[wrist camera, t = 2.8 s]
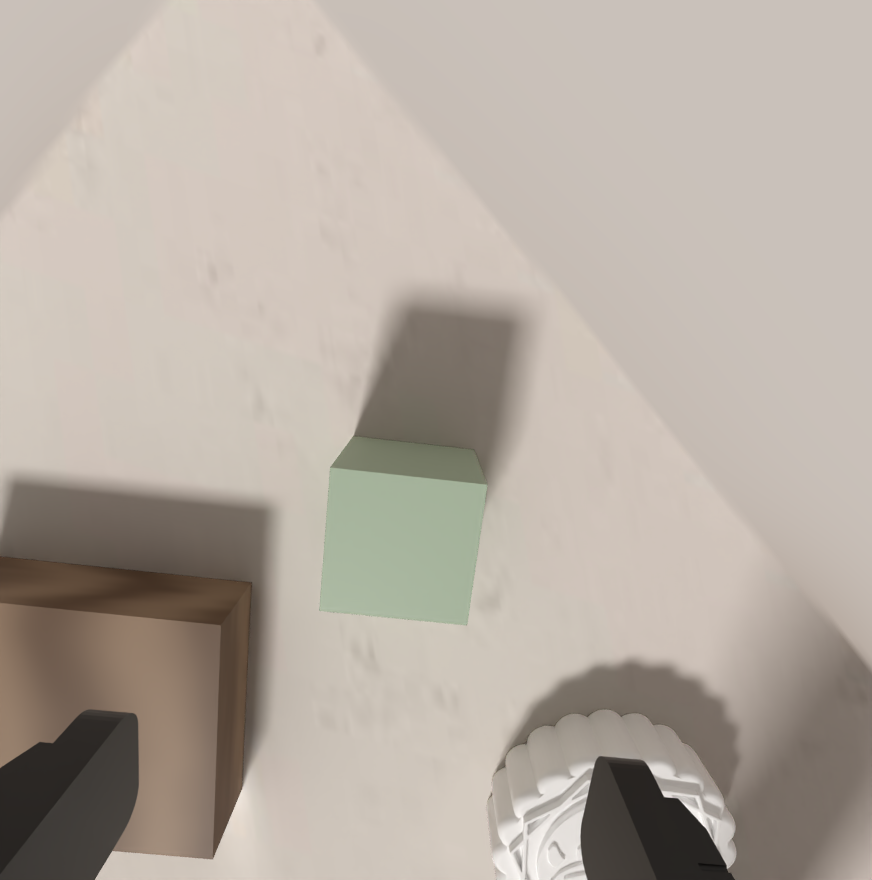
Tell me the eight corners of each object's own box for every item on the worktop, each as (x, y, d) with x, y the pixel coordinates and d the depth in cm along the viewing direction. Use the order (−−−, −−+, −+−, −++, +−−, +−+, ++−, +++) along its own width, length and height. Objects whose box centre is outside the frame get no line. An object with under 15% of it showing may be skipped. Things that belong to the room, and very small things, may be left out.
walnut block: (254, 578, 24) (220, 625, 20) (244, 782, 27) (212, 859, 23) (3, 552, 24) (-80, 594, 20) (16, 762, 26) (-56, 836, 22)
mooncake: (487, 706, 26) (496, 765, 22) (717, 704, 26) (762, 762, 22) (483, 889, 28) (490, 967, 25) (693, 886, 28) (730, 964, 25)
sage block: (473, 449, 23) (487, 484, 17) (458, 560, 24) (467, 625, 19) (353, 435, 23) (330, 467, 17) (344, 548, 24) (319, 610, 18)
